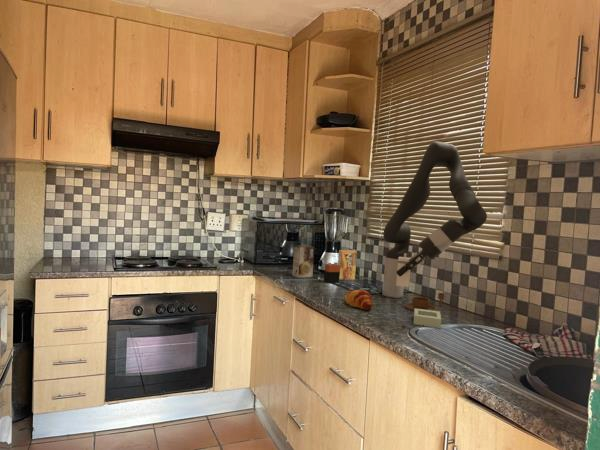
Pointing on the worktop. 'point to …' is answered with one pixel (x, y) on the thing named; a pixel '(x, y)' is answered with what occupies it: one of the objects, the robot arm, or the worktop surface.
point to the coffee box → (303, 261)
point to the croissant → (359, 299)
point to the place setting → (423, 303)
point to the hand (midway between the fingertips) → (398, 273)
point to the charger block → (405, 277)
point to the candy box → (347, 264)
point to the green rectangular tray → (427, 318)
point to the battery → (332, 273)
